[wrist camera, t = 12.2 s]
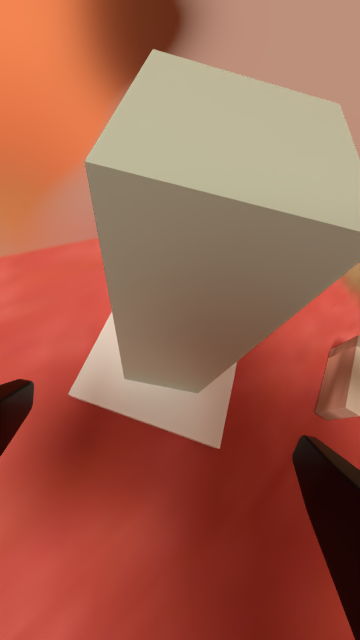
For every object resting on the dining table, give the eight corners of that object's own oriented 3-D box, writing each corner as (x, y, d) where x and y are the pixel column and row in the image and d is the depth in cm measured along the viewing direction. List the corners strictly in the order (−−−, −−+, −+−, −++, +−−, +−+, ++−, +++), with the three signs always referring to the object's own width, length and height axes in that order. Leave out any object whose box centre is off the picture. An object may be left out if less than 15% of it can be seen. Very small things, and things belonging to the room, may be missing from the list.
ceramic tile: (215, 448, 16) (219, 448, 15) (71, 397, 16) (67, 394, 15) (241, 321, 21) (246, 316, 20) (131, 282, 21) (131, 275, 20)
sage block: (197, 393, 16) (388, 238, 4) (124, 379, 16) (84, 161, 4) (205, 328, 19) (340, 103, 6) (141, 314, 18) (153, 49, 6)
